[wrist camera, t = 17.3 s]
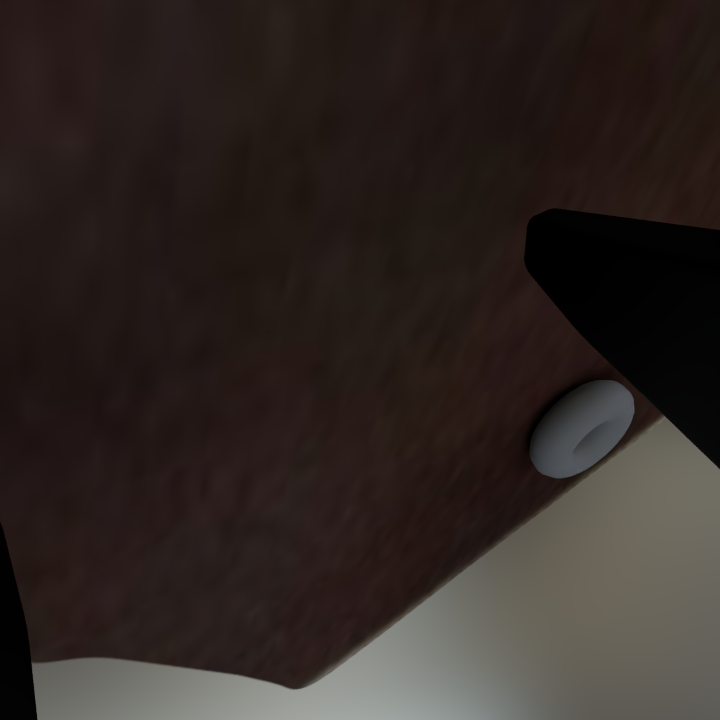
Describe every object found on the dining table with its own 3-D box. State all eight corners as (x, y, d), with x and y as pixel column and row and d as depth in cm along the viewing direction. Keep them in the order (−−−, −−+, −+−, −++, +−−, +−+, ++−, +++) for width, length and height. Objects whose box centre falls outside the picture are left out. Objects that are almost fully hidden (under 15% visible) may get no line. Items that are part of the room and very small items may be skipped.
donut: (629, 364, 45) (554, 378, 40) (664, 389, 43) (589, 408, 38) (575, 446, 51) (503, 468, 45) (603, 472, 48) (530, 499, 43)
